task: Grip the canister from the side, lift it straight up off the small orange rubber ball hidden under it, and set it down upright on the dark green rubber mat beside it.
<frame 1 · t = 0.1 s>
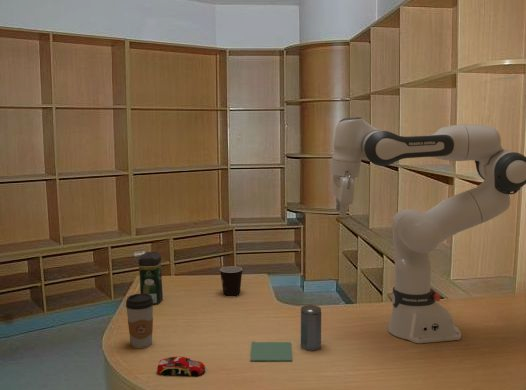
hand: (340, 213, 170), 39 cm above the counter, tool pointing down, fingers open, 8 cm apart
coffee jar: (151, 301, 206), on the counter
mat: (271, 352, 162), on the counter
coffee mug: (232, 293, 215), on the counter
coffee cup: (141, 344, 168), on the counter
ball: (310, 341, 166), in the canister
race car: (181, 373, 151), on the counter
canister: (310, 346, 166), on the counter
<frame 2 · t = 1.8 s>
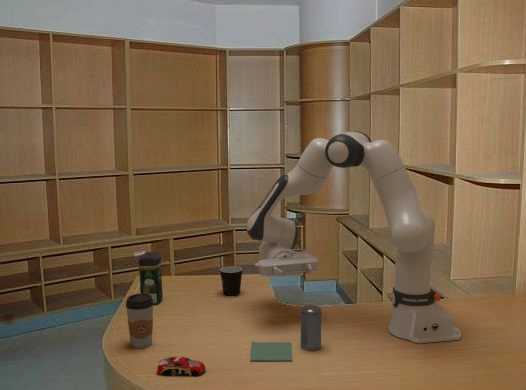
hand: (296, 272, 174), 20 cm above the counter, tool horizontal, fingers open, 8 cm apart
nothing on the counter moved.
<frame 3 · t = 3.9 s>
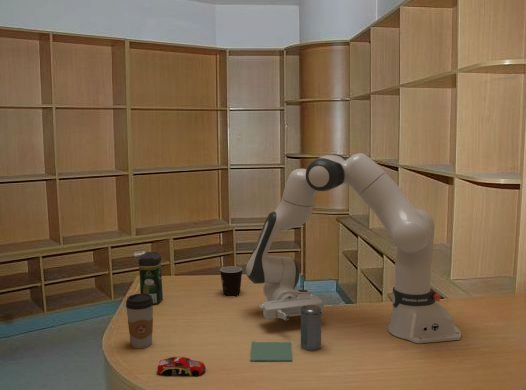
hand: (301, 316, 173), 7 cm above the counter, tool horizontal, fingers open, 8 cm apart
nothing on the counter moved.
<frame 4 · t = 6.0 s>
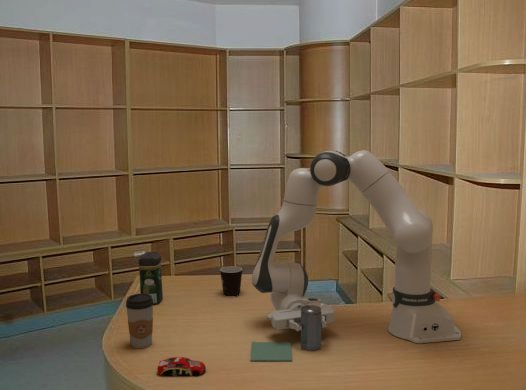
hand: (312, 326, 164), 7 cm above the counter, tool horizontal, fingers closed on canister, 6 cm apart
canister: (310, 346, 166), on the counter, touching gripper
everything else where it was.
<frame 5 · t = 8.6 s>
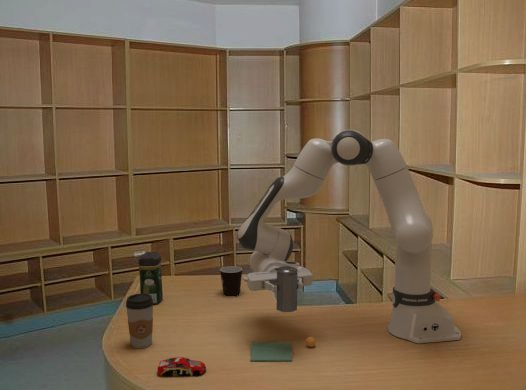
hand: (287, 287, 160), 19 cm above the counter, tool horizontal, fingers closed on canister, 6 cm apart
canister: (286, 308, 162), point 13 cm above the counter, touching gripper
everything else where it was.
when the fingers open (9 cm above the counter, at t = 11.5 s): canister drops 1 cm, resting on mat.
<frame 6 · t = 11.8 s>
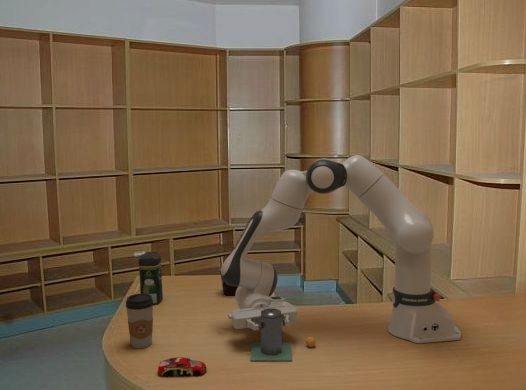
hand: (272, 326, 160), 9 cm above the counter, tool horizontal, fingers open, 8 cm apart
canister: (271, 350, 162), resting on mat
everything else where it was.
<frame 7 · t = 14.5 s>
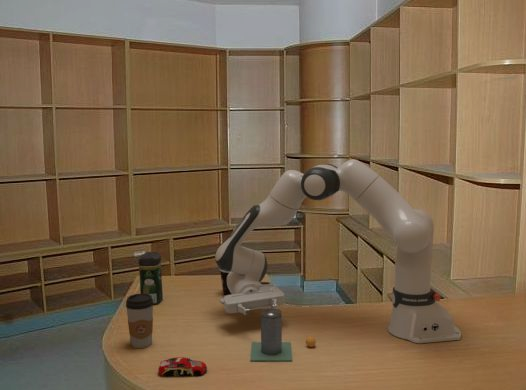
hand: (261, 310, 172), 9 cm above the counter, tool horizontal, fingers open, 8 cm apart
nothing on the counter moved.
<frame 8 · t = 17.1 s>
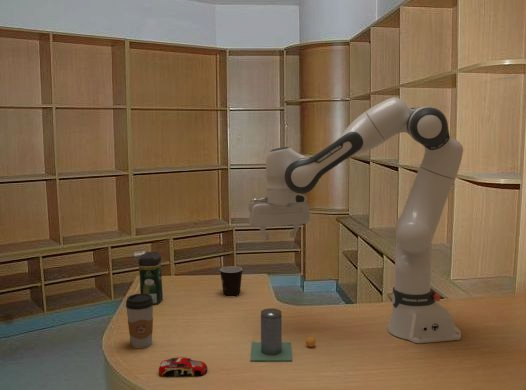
hand: (279, 238, 180), 29 cm above the counter, tool pointing down, fingers open, 8 cm apart
nothing on the counter moved.
at the end: canister inside the target area on the mat (0.0 cm from its centre), point 0.5 cm above the mat's base; canister tilted 0°; the gripper is holding nothing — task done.
